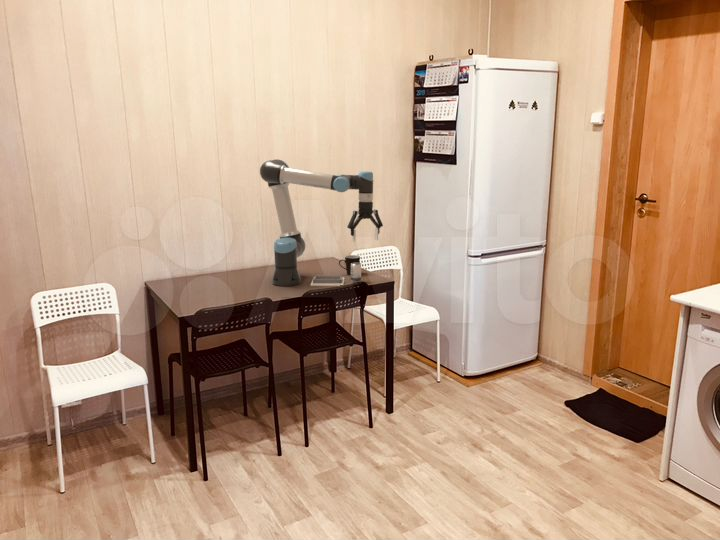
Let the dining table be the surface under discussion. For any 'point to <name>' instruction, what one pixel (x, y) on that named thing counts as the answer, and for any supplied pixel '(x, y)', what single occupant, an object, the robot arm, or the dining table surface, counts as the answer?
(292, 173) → the robot arm
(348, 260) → the coffee mug
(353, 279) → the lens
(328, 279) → the grey flat tray
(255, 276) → the dining table surface
